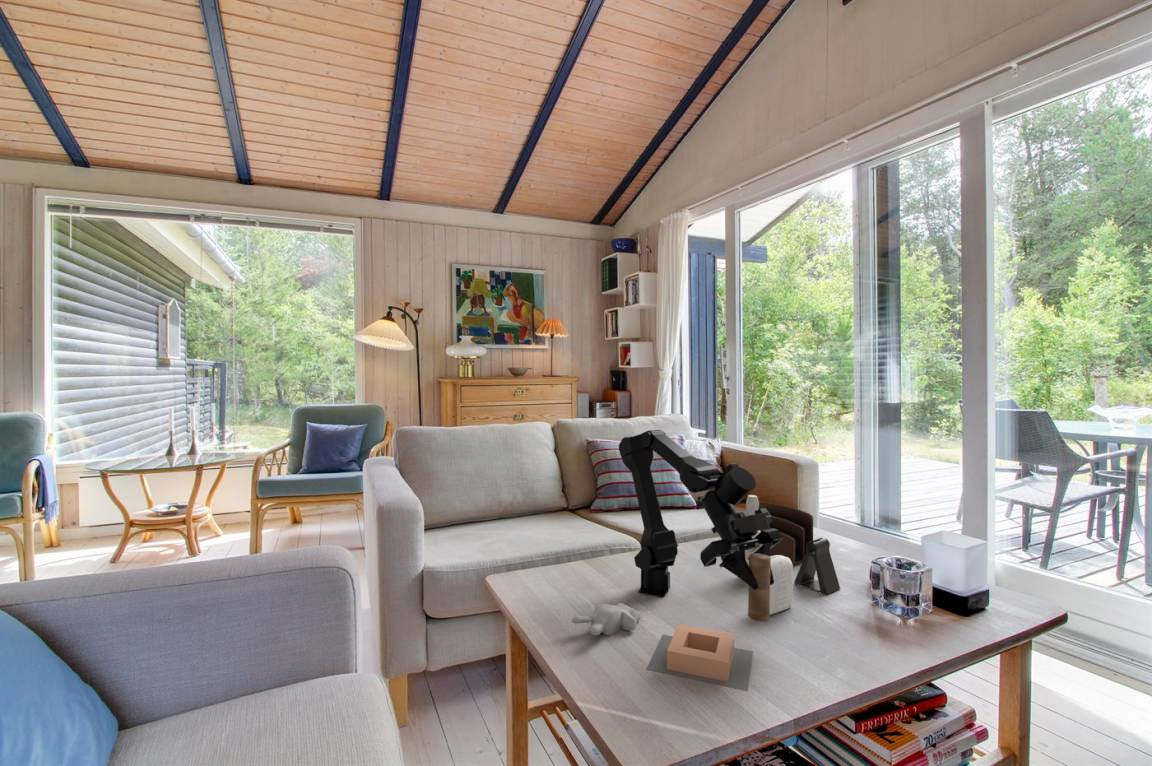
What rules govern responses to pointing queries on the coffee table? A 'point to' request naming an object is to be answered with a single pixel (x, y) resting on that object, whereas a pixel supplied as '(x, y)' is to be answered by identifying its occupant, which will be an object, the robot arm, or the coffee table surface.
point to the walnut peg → (760, 596)
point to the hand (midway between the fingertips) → (764, 586)
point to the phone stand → (818, 568)
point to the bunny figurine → (610, 619)
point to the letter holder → (790, 530)
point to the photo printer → (781, 584)
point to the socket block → (701, 652)
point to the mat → (736, 677)
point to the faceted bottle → (751, 506)
